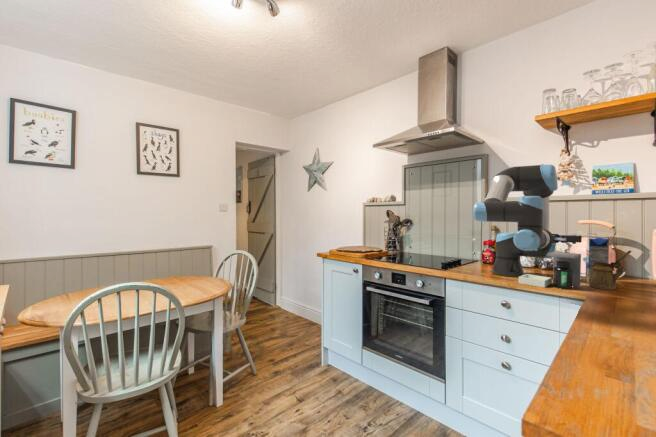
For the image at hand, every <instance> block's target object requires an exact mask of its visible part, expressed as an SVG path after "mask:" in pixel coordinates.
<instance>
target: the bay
mask: <svg viewBox="0 0 656 437" xmlns="http://www.w3.org/2000/svg"><path fill="white" fill-rule="evenodd" d="M547 256H553V265H552V266H553V268H552V269H553V272H552V273H553V274H554V268H555V267H556V266H557V265H556V264H557V261H567V262H570V266H569V268H571V269H572V270H573V277H572V286H573V287H572V288H576V287H578V288H577V289H580V288H581V274H582V273H581V270H582V267H581V265H582V254H581V253H576V252H575V253H574V252H563V251H555V252H551V253H547ZM553 274H552V275H553Z"/></svg>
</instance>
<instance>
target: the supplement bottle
mask: <svg viewBox="0 0 656 437" xmlns="http://www.w3.org/2000/svg"><path fill="white" fill-rule="evenodd" d="M556 265H557V266H556V267H555V268H554V274H552V285H553V287H554V288H555V287H556V289H559V288H561V289H560V290H567V289H569V290H572V289H573V287H572V277H573V270H572V269H571V268H569V266H570V262H567V261H557V264H556Z"/></svg>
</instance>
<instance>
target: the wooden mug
mask: <svg viewBox="0 0 656 437" xmlns="http://www.w3.org/2000/svg"><path fill="white" fill-rule="evenodd" d="M631 253H632V250H628V251H626V252H625V253H624V254H623V255H621V257H620V258H619V259H617V260H616V261H613V262H610V263H609V262H608V263H601V262H595V263H594V266H593V273H592V278H591V282H590V284H588V285H589V287H591V288H594V289H599V290H608V291H614V290H616V289H617V285H616V284H617V281H618V279H619V278H620V277H621V276H622V275H623V273H624V267H623V264H622V263H621V262H622V261H623V259H625V258H626V257H628V256H629V255H630V254H631ZM615 269H616V270H617V272H616V273H614V271H615Z"/></svg>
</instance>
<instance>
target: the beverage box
mask: <svg viewBox="0 0 656 437" xmlns="http://www.w3.org/2000/svg"><path fill="white" fill-rule="evenodd" d="M585 248H586V249H585V250H586V251H585V253H586V254H585V256H586V257H585V281H586V282H587V284H588V285H589V284H590V282H591V278H592V273H593V266H594V263H595V262H601V263H609V262H610V261H609V259H610V258H609V257H610V256H609V254H610V252H609V251H610V239H609V238H607V237H600V236H599V237H598V236H597V237H596V236H586V247H585Z"/></svg>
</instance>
